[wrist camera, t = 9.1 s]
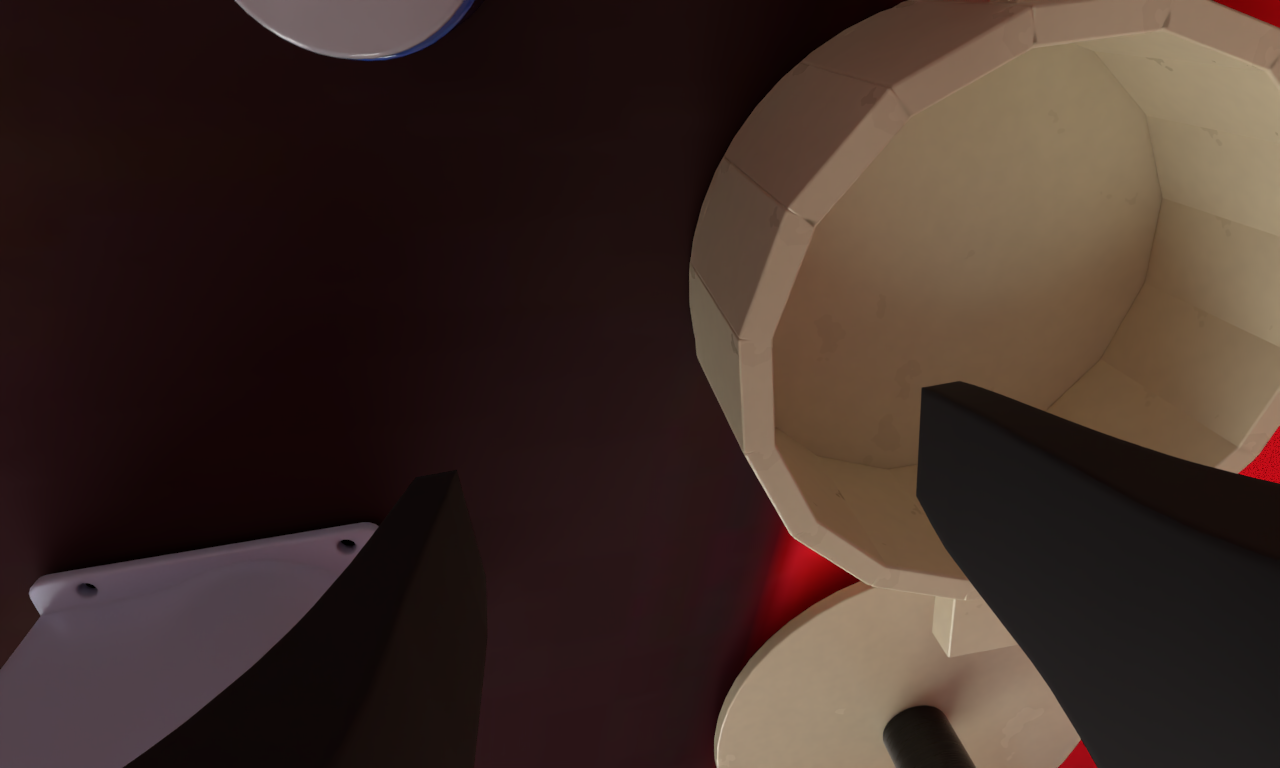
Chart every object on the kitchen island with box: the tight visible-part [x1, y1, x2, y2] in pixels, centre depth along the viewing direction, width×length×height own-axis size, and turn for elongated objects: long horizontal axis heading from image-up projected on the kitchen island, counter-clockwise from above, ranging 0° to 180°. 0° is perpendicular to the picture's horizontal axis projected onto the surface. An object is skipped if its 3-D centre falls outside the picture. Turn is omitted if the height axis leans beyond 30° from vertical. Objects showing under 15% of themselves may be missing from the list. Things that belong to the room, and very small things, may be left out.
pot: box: [689, 0, 1280, 657], centre depth 19 cm, size 13×19×6 cm
